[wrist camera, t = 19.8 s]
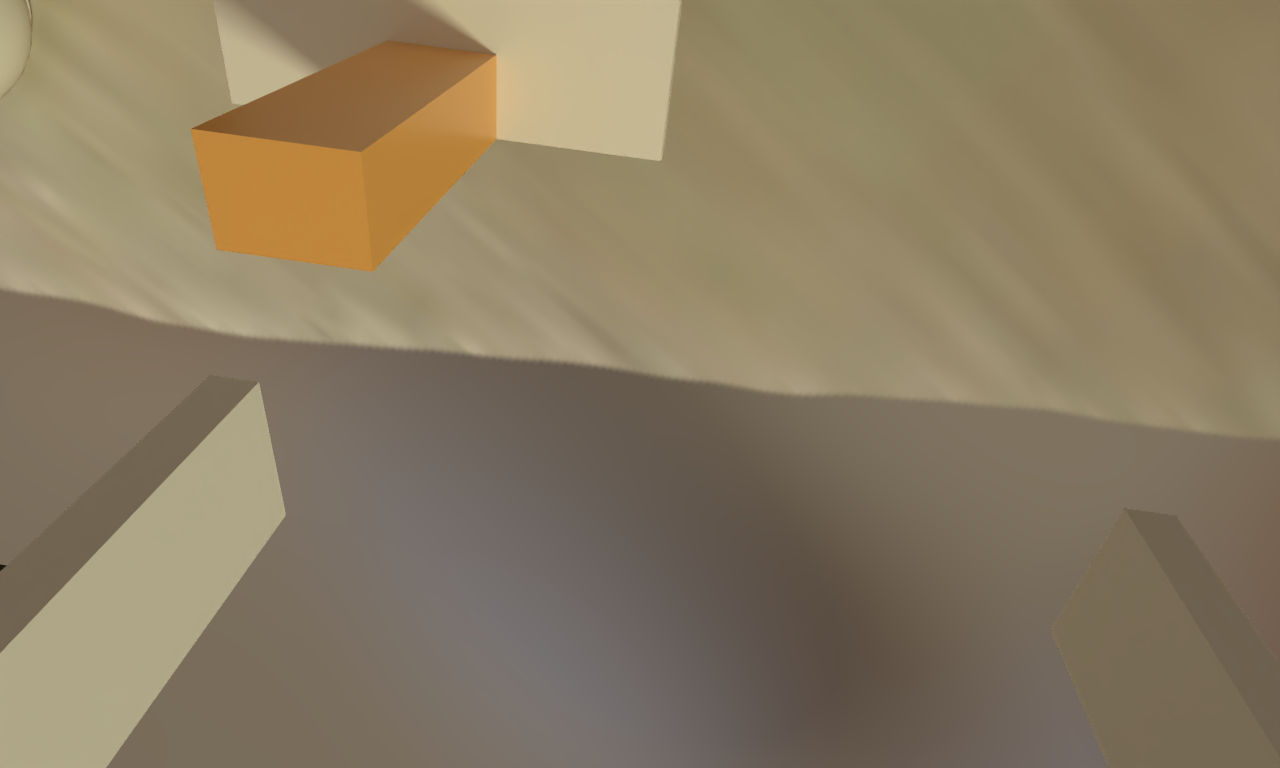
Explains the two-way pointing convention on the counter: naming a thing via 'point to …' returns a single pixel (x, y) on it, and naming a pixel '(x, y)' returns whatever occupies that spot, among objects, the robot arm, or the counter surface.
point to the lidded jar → (14, 41)
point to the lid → (413, 108)
